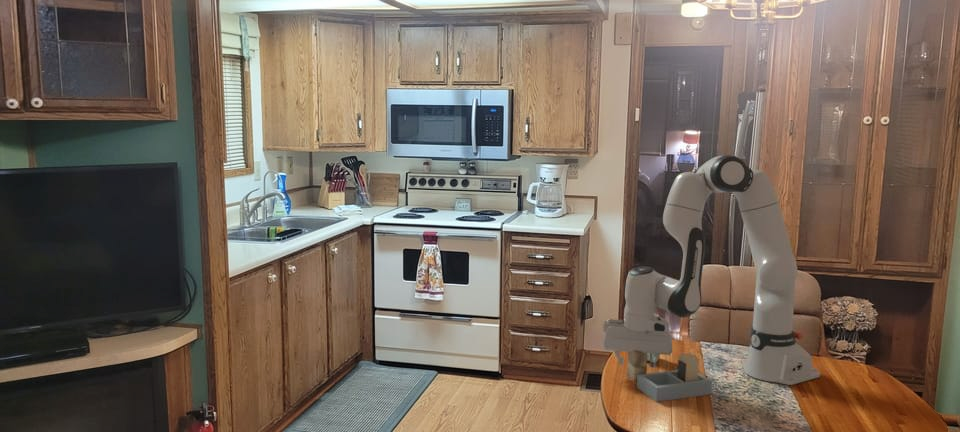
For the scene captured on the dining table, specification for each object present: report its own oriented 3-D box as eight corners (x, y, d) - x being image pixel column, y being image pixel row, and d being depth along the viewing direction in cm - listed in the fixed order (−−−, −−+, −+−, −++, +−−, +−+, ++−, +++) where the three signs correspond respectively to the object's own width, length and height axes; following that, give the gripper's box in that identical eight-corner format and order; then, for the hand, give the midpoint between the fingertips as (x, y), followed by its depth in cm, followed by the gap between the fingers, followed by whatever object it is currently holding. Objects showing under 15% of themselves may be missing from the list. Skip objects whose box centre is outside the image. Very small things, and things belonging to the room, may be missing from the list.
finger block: (639, 374, 208) (641, 346, 207) (646, 379, 204) (648, 350, 203) (627, 375, 207) (628, 347, 205) (634, 380, 203) (635, 352, 202)
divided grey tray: (689, 381, 203) (691, 349, 202) (710, 394, 194) (713, 360, 192) (636, 387, 198) (638, 355, 196) (656, 401, 188) (657, 367, 187)
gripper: (603, 321, 202) (601, 365, 204) (674, 327, 198) (671, 372, 200) (603, 315, 208) (602, 358, 210) (673, 320, 204) (670, 364, 206)
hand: (636, 365), depth 205 cm, fingers open, 8 cm apart
